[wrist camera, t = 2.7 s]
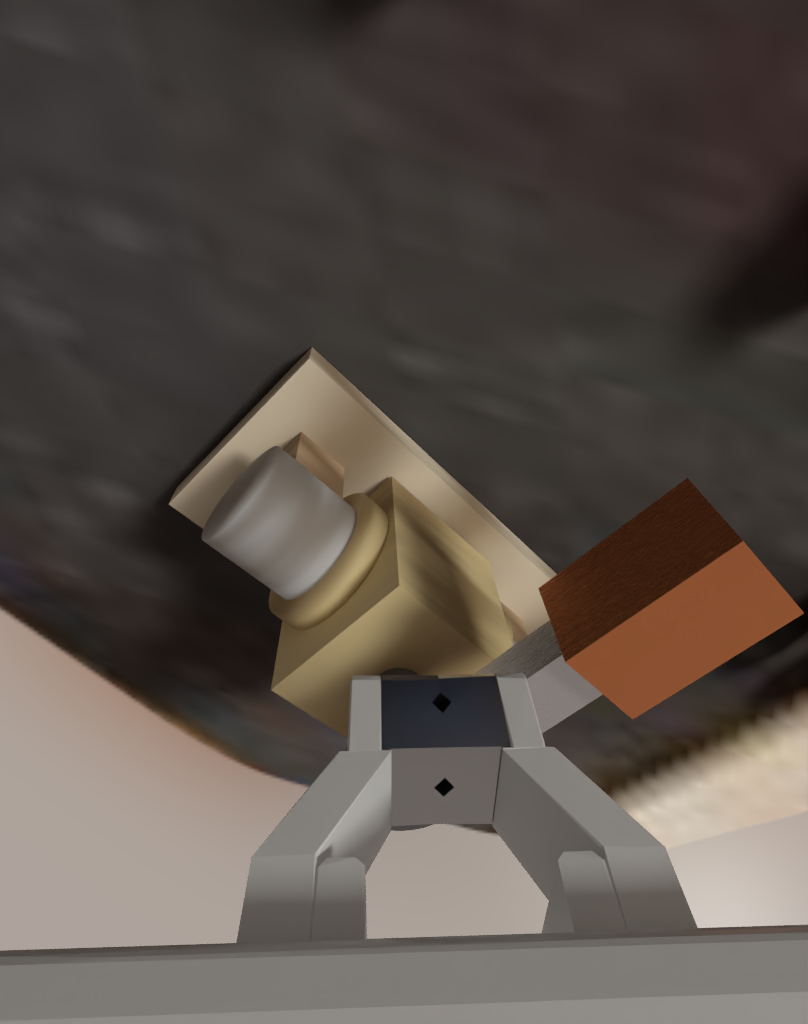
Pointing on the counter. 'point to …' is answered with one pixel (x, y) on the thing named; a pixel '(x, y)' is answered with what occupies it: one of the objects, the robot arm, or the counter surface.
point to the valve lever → (646, 613)
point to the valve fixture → (359, 544)
